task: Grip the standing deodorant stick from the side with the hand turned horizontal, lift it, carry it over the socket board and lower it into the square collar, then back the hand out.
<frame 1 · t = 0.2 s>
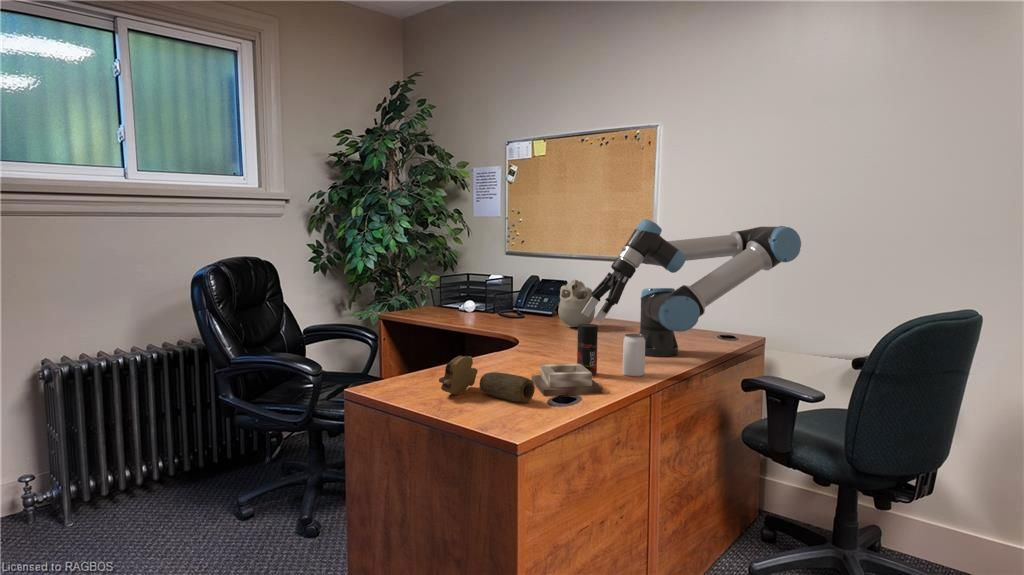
hand: (590, 317, 197), 15 cm above the table, tool tilted 35°, fingers open, 13 cm apart
wooden carving: (457, 393, 162), on the table
socket: (565, 386, 169), on the table
stone weight: (506, 399, 157), on the table
can: (633, 375, 184), on the table
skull: (576, 328, 268), on the table
deodorant: (586, 375, 183), on the table
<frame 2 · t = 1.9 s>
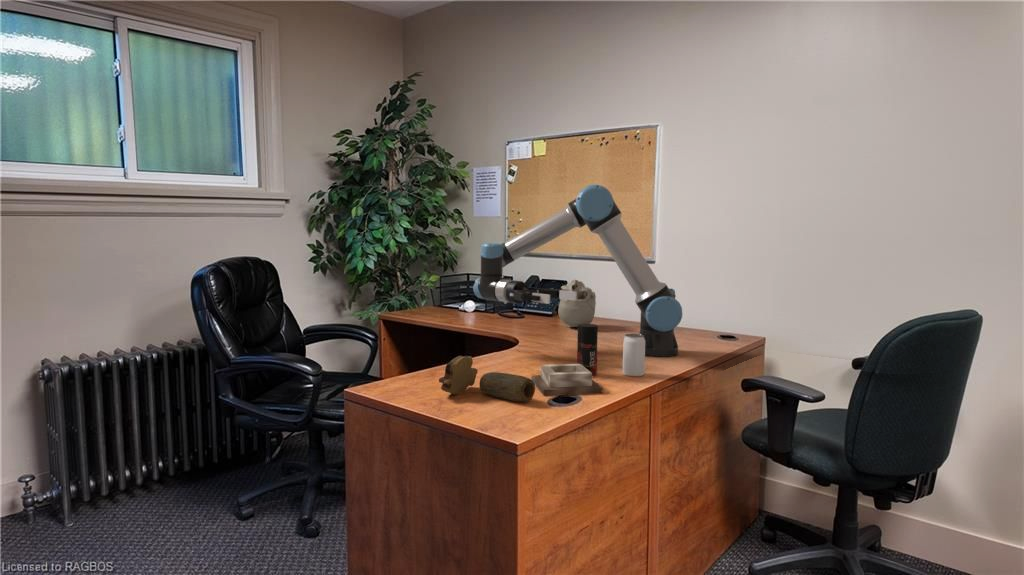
hand: (563, 297, 187), 22 cm above the table, tool horizontal, fingers open, 13 cm apart
nothing on the table moved.
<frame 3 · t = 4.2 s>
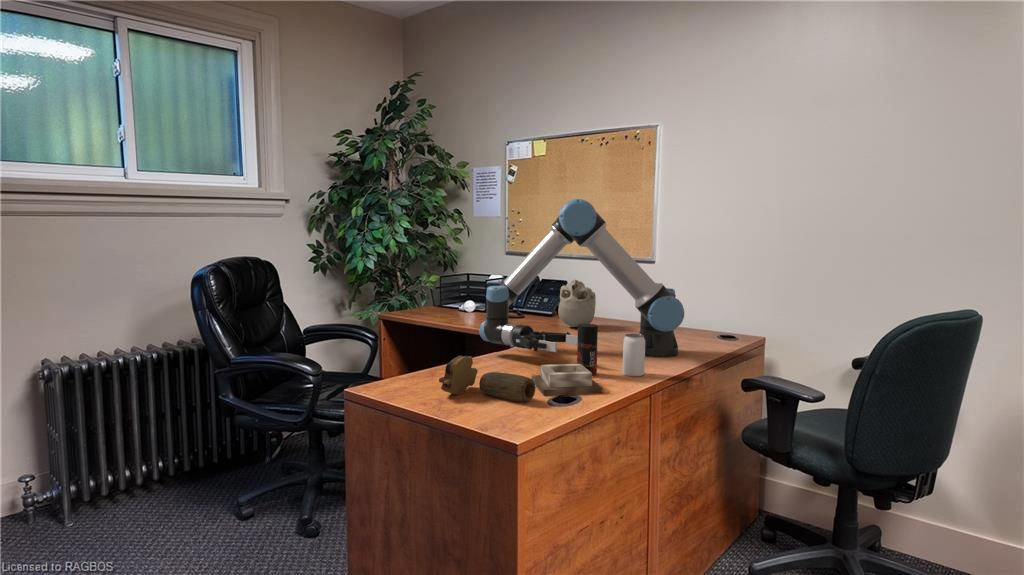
hand: (570, 344, 186), 8 cm above the table, tool horizontal, fingers open, 13 cm apart
nothing on the table moved.
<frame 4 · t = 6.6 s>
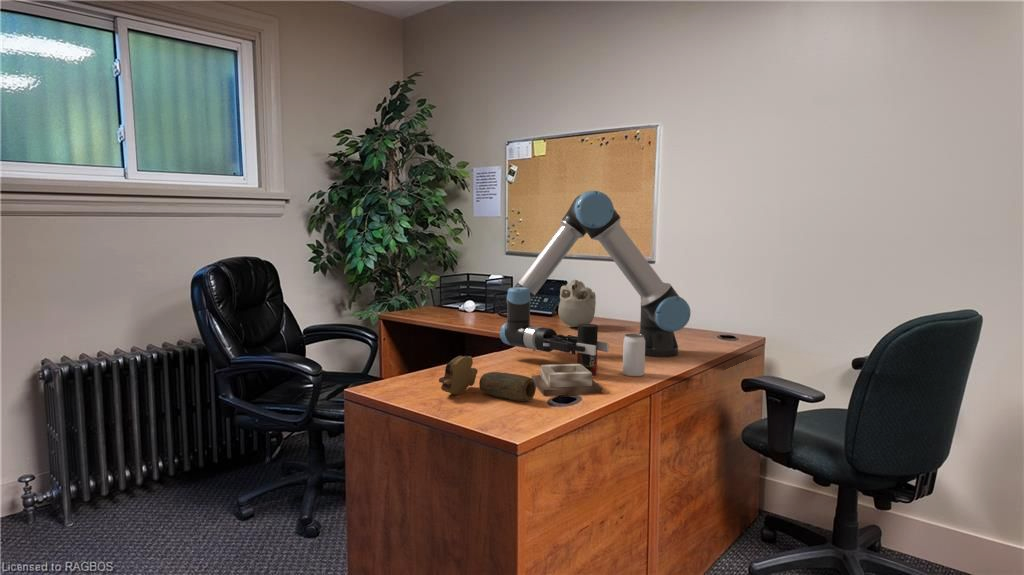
hand: (601, 348, 179), 9 cm above the table, tool horizontal, fingers closed on deodorant, 6 cm apart
deodorant: (586, 375, 183), on the table, touching gripper
everything else where it was.
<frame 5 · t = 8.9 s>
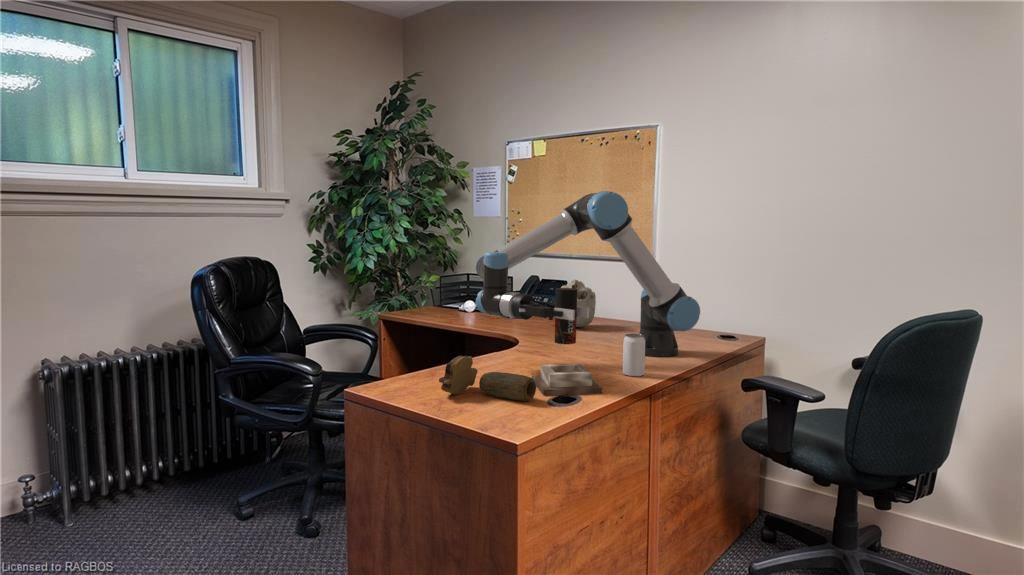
hand: (580, 314, 165), 21 cm above the table, tool horizontal, fingers closed on deodorant, 6 cm apart
deodorant: (565, 343, 170), point 12 cm above the table, touching gripper
everything else where it was.
when the fingers open (11 cm above the table, at t = 11.5 s): deodorant drops 1 cm, resting on socket.
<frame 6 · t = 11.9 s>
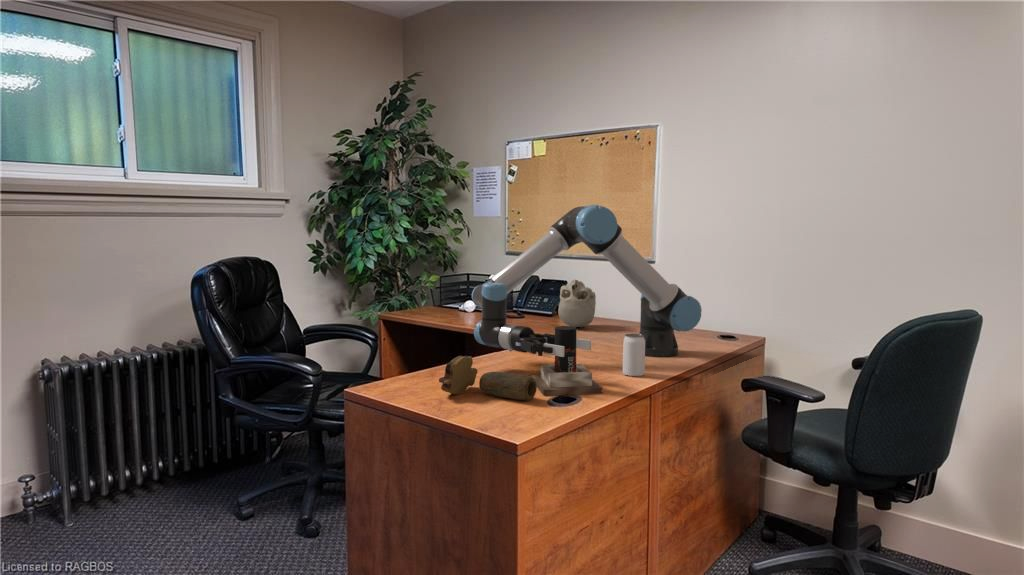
hand: (577, 348, 165), 11 cm above the table, tool horizontal, fingers open, 11 cm apart
deodorant: (565, 381, 169), point 1 cm above the table, touching socket
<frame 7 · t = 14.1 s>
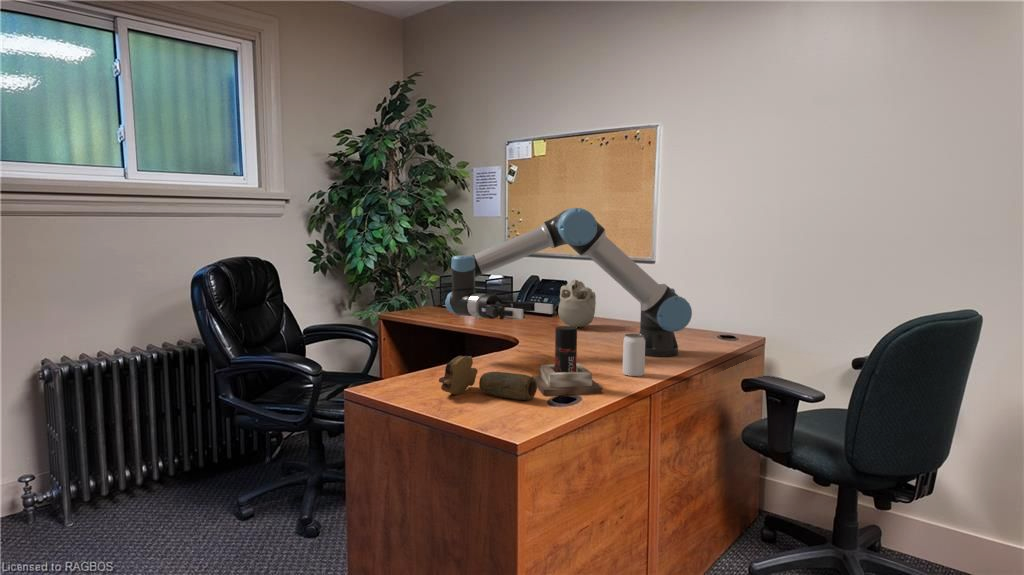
hand: (537, 311, 177), 20 cm above the table, tool horizontal, fingers open, 13 cm apart
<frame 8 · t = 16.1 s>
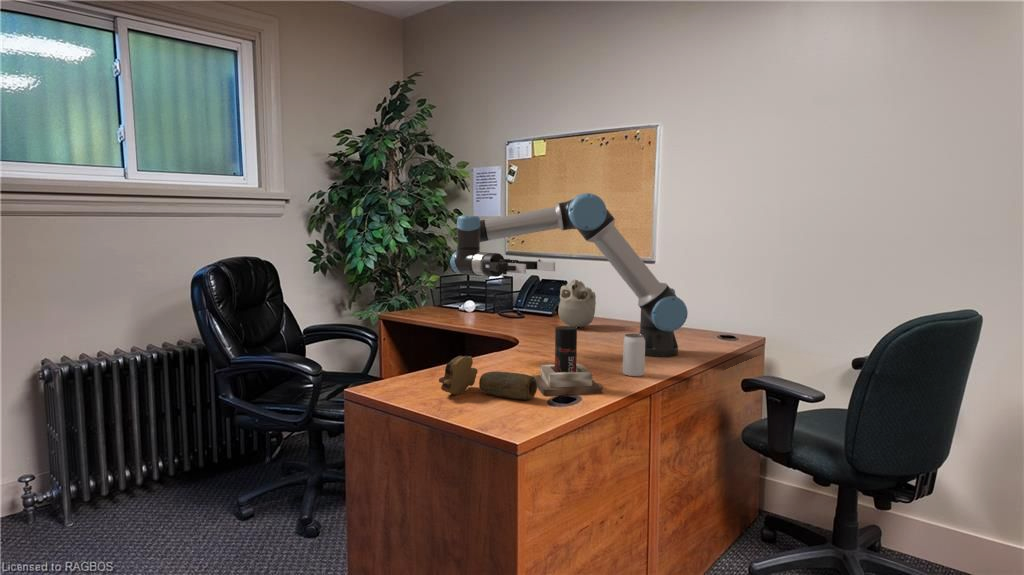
hand: (540, 267, 181), 32 cm above the table, tool horizontal, fingers open, 13 cm apart
at the end: deodorant 0.1 cm off-centre on the socket, point 1.3 cm above the socket's base; deodorant tilted 0°; the gripper is holding nothing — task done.
